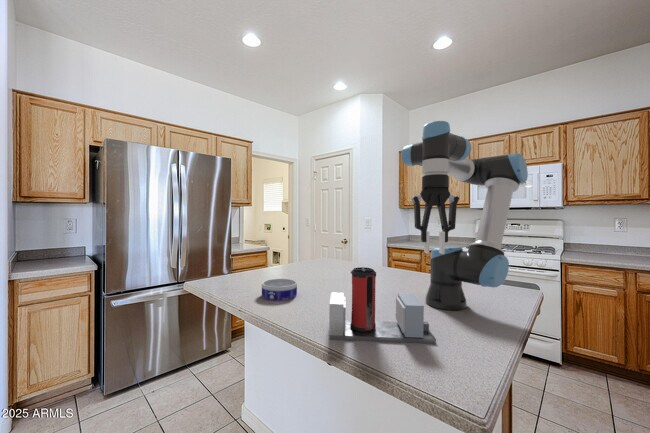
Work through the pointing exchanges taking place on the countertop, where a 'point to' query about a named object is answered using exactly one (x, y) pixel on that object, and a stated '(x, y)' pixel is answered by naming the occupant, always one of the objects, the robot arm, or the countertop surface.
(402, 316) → the slide jaw
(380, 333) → the vise bed
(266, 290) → the dog bowl
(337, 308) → the fixed jaw
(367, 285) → the speaker
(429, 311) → the countertop surface
